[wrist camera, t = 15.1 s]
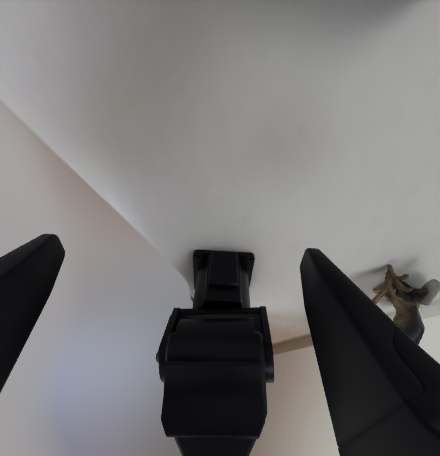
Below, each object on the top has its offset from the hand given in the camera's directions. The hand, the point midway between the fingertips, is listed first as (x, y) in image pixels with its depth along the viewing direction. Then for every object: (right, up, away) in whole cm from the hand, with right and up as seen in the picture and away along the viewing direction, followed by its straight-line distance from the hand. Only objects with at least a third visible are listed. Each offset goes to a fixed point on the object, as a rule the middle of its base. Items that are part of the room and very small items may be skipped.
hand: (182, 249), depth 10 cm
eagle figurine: (+22, -6, +21) cm, 31 cm away
